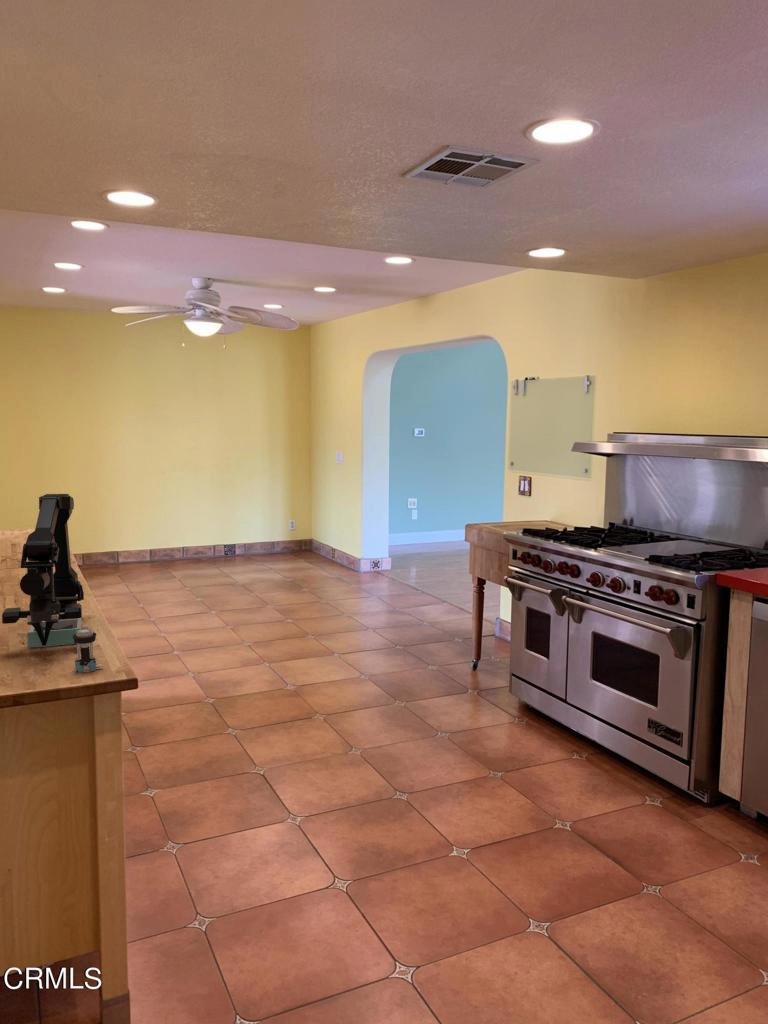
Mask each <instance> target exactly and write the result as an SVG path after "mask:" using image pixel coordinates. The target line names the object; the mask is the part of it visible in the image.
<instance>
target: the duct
mask: <svg viewBox="0 0 768 1024" xmlns="http://www.w3.org/2000/svg"><path fill="white" fill-rule="evenodd" d="M58 622H59V623H66V624H73V628H81V629H89V626H83V624H82V622H83V621H82V618H78V619H64V620H58ZM43 623H46V621H42V624H43ZM34 631H36V630H35V628H34V627H33V626H32V625H30V629H29V631H28V632H34Z"/></svg>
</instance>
